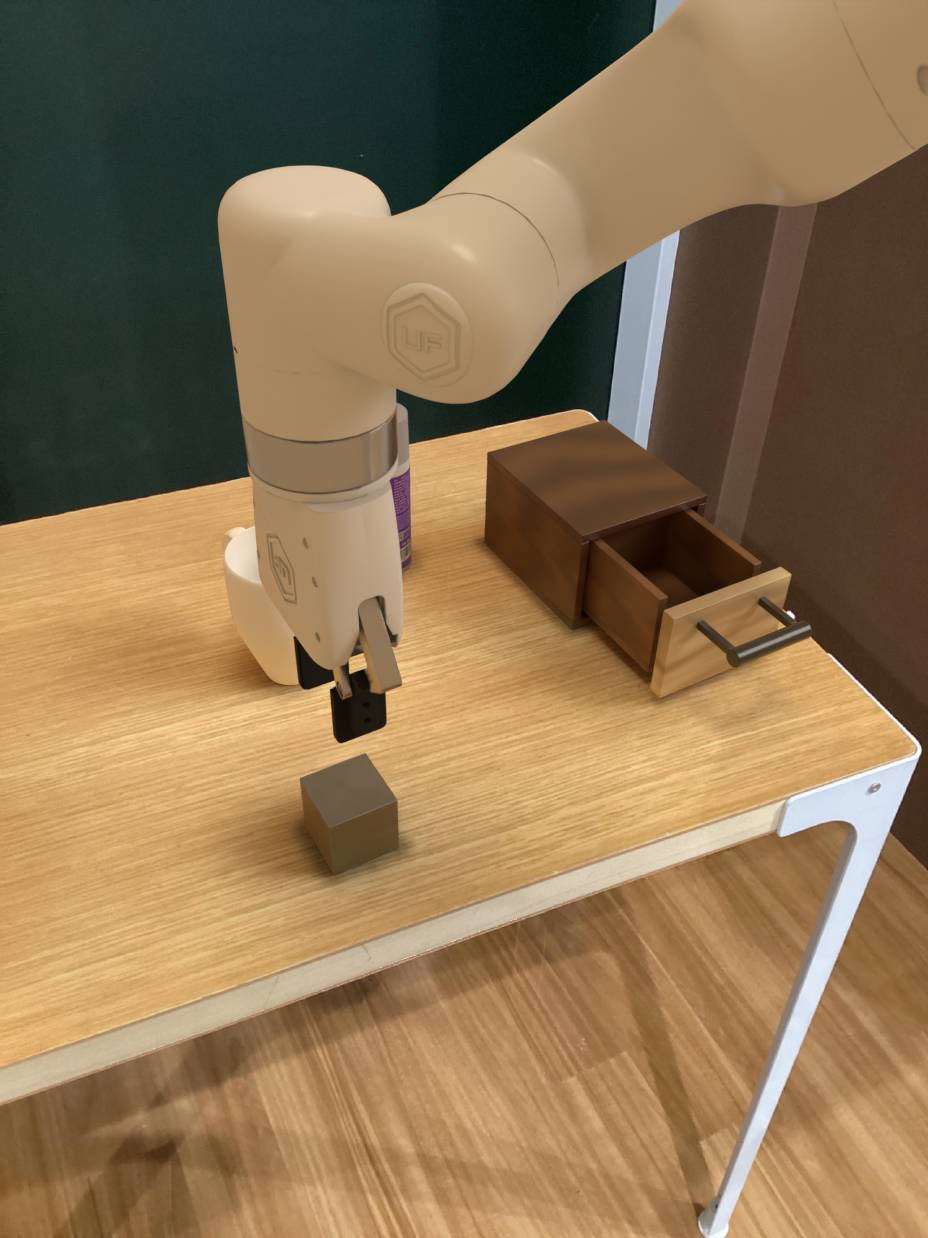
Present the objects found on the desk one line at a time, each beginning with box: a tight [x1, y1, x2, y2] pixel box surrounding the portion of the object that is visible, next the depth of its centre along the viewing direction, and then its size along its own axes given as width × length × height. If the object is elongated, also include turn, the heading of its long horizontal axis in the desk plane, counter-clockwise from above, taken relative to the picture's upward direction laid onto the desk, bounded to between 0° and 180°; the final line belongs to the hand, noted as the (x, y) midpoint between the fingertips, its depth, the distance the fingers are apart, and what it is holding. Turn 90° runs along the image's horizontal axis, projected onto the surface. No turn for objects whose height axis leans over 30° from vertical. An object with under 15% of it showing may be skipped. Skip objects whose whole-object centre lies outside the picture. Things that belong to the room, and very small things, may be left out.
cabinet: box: [483, 419, 708, 631], centre depth 94 cm, size 15×13×10 cm
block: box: [299, 752, 400, 876], centre depth 70 cm, size 5×5×5 cm
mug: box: [221, 525, 300, 686], centre depth 83 cm, size 12×8×11 cm
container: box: [389, 402, 412, 574], centre depth 92 cm, size 5×5×15 cm
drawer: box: [582, 508, 813, 699], centre depth 85 cm, size 18×11×8 cm, turn 30°
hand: (341, 703), depth 64 cm, fingers open, 4 cm apart
